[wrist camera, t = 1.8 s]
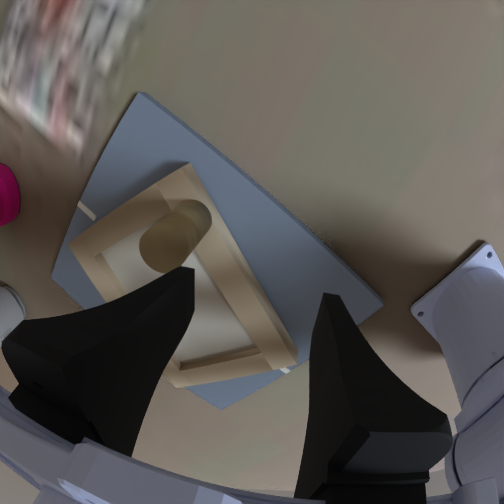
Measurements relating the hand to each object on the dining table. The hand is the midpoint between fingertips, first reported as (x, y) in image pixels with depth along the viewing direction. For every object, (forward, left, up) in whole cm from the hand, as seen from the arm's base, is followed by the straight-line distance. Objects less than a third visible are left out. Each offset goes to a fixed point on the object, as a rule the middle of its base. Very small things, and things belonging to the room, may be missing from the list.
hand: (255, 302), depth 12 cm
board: (+1, +9, -9) cm, 13 cm away
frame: (+1, +9, -9) cm, 13 cm away
